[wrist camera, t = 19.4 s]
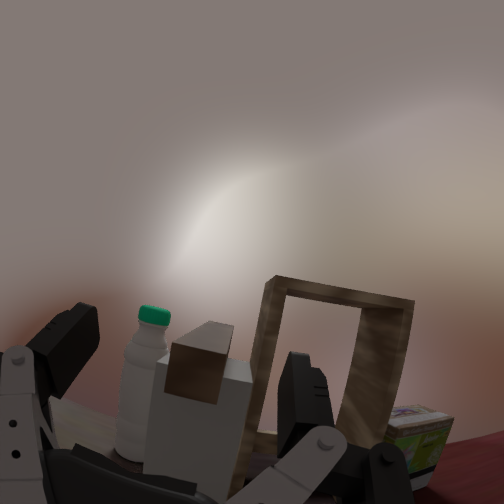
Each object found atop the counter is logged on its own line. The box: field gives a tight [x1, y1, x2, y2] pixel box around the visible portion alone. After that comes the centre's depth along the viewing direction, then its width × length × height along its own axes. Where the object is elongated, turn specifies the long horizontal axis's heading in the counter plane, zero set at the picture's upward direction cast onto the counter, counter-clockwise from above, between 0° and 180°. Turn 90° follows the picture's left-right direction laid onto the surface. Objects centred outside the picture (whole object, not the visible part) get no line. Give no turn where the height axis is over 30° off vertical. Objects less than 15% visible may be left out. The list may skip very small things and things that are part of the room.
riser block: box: [143, 353, 253, 504], centre depth 25 cm, size 8×9×22 cm
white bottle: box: [115, 305, 171, 463], centre depth 40 cm, size 7×7×25 cm
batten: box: [164, 321, 234, 405], centre depth 27 cm, size 3×22×3 cm, turn 2°
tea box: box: [382, 405, 454, 491], centre depth 37 cm, size 15×10×15 cm
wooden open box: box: [226, 275, 415, 502], centre depth 38 cm, size 18×14×32 cm
